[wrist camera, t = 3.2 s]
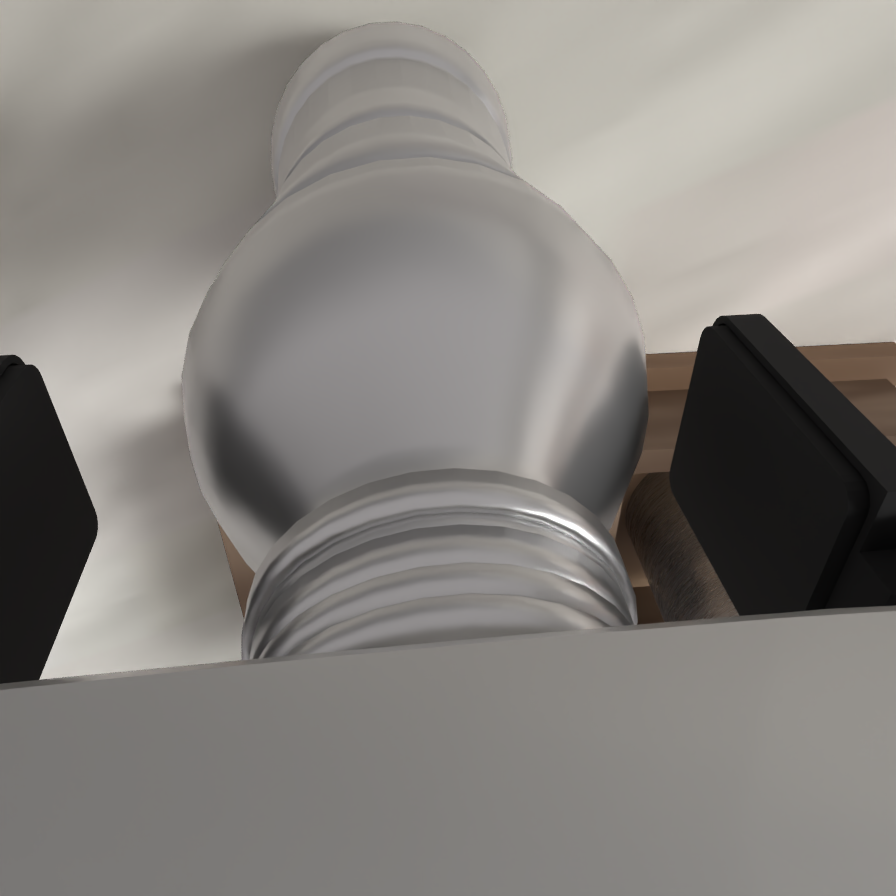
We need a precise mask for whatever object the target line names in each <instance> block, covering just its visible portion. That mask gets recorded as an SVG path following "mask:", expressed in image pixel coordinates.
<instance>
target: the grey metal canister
mask: <svg viewBox="0 0 896 896" xmlns="http://www.w3.org/2000/svg"><path fill="white" fill-rule="evenodd" d="M669 473H670V472H655V473H648V474H647V475H646V476H645V477H644V478H643V479H642V480H641V482H640V483H639V484H638V485H637V487H636V488H635V490H634V491H633V493H632V495H631V497H630V499H629V501H628V504H627V508H626V513H625V524H626V528H627V532H628V534H629V536H630V539H631V541H632V544H633V546H634V549H635V551H636V554H637V556H638V558H639V561H640V563H641V566H642V568H643V571H644V573H645V576H646V578H647V581H648V583H649V585H650V588H651V590H652V593H653V595H654V598H655V600H656V603H657V605H658V607H659V610H660V612H661V615H662V617H663V620H664V622H675V621H686V620H698V619H710V618H721V617H733V616H739V614H738V612H737V610H736V609H735V607H734V605H733V603H732V601H731V599H730V598H729V596H728V594H727V592H726V590H725V589H724V587H723V585H722V583H721V581H720V579H719V578H718V576H717V574H716V572H715V570H714V568H713V567H712V565H711V563H710V561H709V559H708V558H707V556H706V554H705V552H704V550H703V548H702V547H701V545H700V543H699V541H698V539H697V537H696V536H695V534H694V532H693V530H692V528H691V527H690V525H689V523H688V521H687V519H686V517H685V516H684V514H683V512H682V510H681V508H680V506H679V505H678V503H677V501H676V499H675V497H674V496H673V493H672V491H671V487H670V481H669Z"/></svg>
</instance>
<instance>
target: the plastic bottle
mask: <svg viewBox="0 0 896 896" xmlns="http://www.w3.org/2000/svg"><path fill="white" fill-rule="evenodd" d="M271 167H272V177H273V183H274V189H275V195H276V201H275V202H274V203H273V204H272V206H271V207H270V208H269V209H268V210H267V211H266V212H265V214H264V215H263V216H262V217H261V218H260V219H259V220H258V221H257V223H256V224H255V225H254V226H253V227H252V228H251V229H250V230H249V231H248V232H247V234H246V235H245V236H244V238H243V239H242V240H241V242H240V243H239V244H238V246H237V247H236V248H235V250H234V251H233V252H232V254H231V255H230V256H229V258H228V259H227V260H226V262H225V263H224V264H223V266H222V268H221V270H220V272H219V273H218V275H217V277H216V279H215V281H214V282H213V284H212V285H211V287H210V288H209V290H208V292H207V294H206V296H205V299H204V301H203V303H202V305H201V308H200V310H199V312H198V315H197V317H196V319H195V321H194V324H193V326H192V328H191V330H190V333H189V338H188V343H187V349H186V354H185V360H184V365H183V371H182V391H183V408H184V420H185V426H186V432H187V439H188V445H189V452H190V457H191V461H192V464H193V467H194V471H195V474H196V477H197V480H198V484H199V487H200V490H201V493H202V495H203V497H204V498H205V500H206V502H207V503H208V505H209V507H210V509H211V510H212V512H213V514H214V516H215V517H216V519H217V521H218V523H219V524H220V526H221V527H222V529H223V530H224V532H225V533H226V535H227V536H228V537H229V539H230V540H231V542H232V543H233V545H234V546H235V548H236V549H237V551H238V552H239V554H240V555H241V557H242V558H243V559H244V561H245V562H246V564H247V565H248V566H249V567H250V568H251V569H252V570H253V571H254V572H255V576H254V580H253V583H252V586H251V590H250V593H249V596H248V599H247V605H246V611H245V618H244V624H243V630H242V660H250V659H261V658H271V657H282V656H293V655H303V654H314V653H325V652H336V651H347V650H358V649H369V648H379V647H390V646H401V645H412V644H423V643H434V642H446V641H457V640H468V639H479V638H490V637H501V636H512V635H523V634H534V633H546V632H558V631H569V630H581V629H593V628H604V627H616V626H628V625H637V623H638V618H637V605H636V595H635V593H634V590H633V587H632V584H631V582H630V579H629V576H628V573H627V571H626V568H625V565H624V563H623V560H622V558H621V555H620V553H619V550H618V548H617V545H616V543H615V540H614V538H613V537H612V535H611V534H610V533H609V530H610V529H611V526H612V524H613V522H614V519H615V517H616V514H617V512H618V510H619V507H620V505H621V502H622V500H623V498H624V495H625V493H626V490H627V488H628V486H629V483H630V481H631V478H632V476H633V473H634V471H635V469H636V466H637V464H638V461H639V459H640V456H641V454H642V450H643V445H644V440H645V434H646V429H647V423H648V418H649V410H648V389H647V370H646V354H645V338H644V334H643V330H642V327H641V324H640V320H639V317H638V313H637V310H636V306H635V303H634V299H633V297H632V295H631V293H630V291H629V290H628V288H627V286H626V284H625V283H624V281H623V279H622V278H621V276H620V274H619V272H618V271H617V269H616V267H615V265H614V264H613V262H612V260H611V259H610V258H609V257H608V256H607V255H606V254H605V253H604V252H603V250H602V249H601V248H600V247H599V246H598V245H597V244H596V243H595V242H594V241H593V240H592V238H591V237H590V236H589V235H588V234H587V233H586V232H585V231H584V230H583V229H582V228H581V227H580V226H579V225H578V224H577V223H576V221H575V220H574V219H573V218H572V217H571V216H570V215H569V214H568V213H567V212H566V211H565V210H564V209H563V208H562V207H561V206H560V205H559V204H557V203H556V202H554V201H553V200H551V199H550V198H548V197H547V196H545V195H544V194H542V193H541V192H540V191H538V190H537V189H536V188H534V187H533V186H531V185H530V184H529V183H527V182H526V181H524V180H523V179H522V178H520V177H519V176H517V175H516V174H515V172H514V171H513V170H512V153H511V146H510V139H509V132H508V126H507V119H506V115H505V113H504V110H503V107H502V104H501V101H500V98H499V95H498V93H497V91H496V90H495V88H494V86H493V84H492V83H491V81H490V79H489V78H488V76H487V74H486V73H485V71H484V70H483V69H482V68H481V66H480V65H479V64H478V63H477V62H476V61H475V60H474V59H473V58H472V57H471V55H470V54H469V53H468V52H467V51H466V50H464V49H463V48H461V47H460V46H459V45H457V44H456V43H454V42H453V41H452V40H450V39H449V38H447V37H446V36H444V35H442V34H439V33H437V32H434V31H432V30H430V29H427V28H425V27H423V26H418V25H412V24H407V23H401V22H383V23H369V24H366V25H363V26H359V27H356V28H353V29H350V30H346V31H344V32H342V33H341V34H339V35H337V36H335V37H334V38H332V39H330V40H328V41H327V42H325V43H323V44H322V45H321V46H320V47H319V48H317V49H316V50H315V51H314V52H313V53H312V54H311V55H310V56H309V57H308V58H307V59H306V60H304V61H303V62H302V64H301V65H300V67H299V68H298V70H297V71H296V72H295V74H294V75H293V77H292V78H291V80H290V81H289V82H288V84H287V86H286V88H285V91H284V93H283V95H282V98H281V100H280V102H279V105H278V107H277V111H276V115H275V120H274V124H273V129H272V134H271Z"/></svg>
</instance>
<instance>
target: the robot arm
mask: <svg viewBox="0 0 896 896" xmlns="http://www.w3.org/2000/svg"><path fill="white" fill-rule="evenodd" d="M669 481H670V487H671V491H672V493H673V496H674V497H675V499H676V501H677V503H678V505H679V506H680V508H681V510H682V512H683V514H684V516H685V517H686V519H687V521H688V523H689V525H690V527H691V528H692V530H693V532H694V534H695V536H696V537H697V539H698V541H699V543H700V545H701V547H702V548H703V550H704V552H705V554H706V556H707V558H708V559H709V561H710V563H711V565H712V567H713V568H714V570H715V572H716V574H717V576H718V578H719V579H720V581H721V583H722V585H723V587H724V589H725V590H726V592H727V594H728V596H729V598H730V599H731V601H732V603H733V605H734V607H735V609H736V610H737V612H738V614H739V616H733V617H721V618H710V619H698V620H686V621H675V622H663V623H651V624H640V625H628V626H616V627H604V628H593V629H581V630H569V631H558V632H546V633H534V634H523V635H512V636H501V637H490V638H479V639H468V640H457V641H446V642H434V643H423V644H412V645H401V646H390V647H379V648H369V649H358V650H347V651H336V652H325V653H314V654H303V655H293V656H282V657H271V658H261V659H250V660H240V661H229V662H219V663H209V664H198V665H188V666H178V667H167V668H157V669H146V670H136V671H126V672H115V673H105V674H95V675H84V676H74V677H63V678H53V679H43V680H39V679H40V676H41V674H42V671H43V669H44V666H45V664H46V661H47V659H48V656H49V654H50V651H51V649H52V646H53V644H54V641H55V639H56V636H57V634H58V631H59V629H60V626H61V624H62V622H63V619H64V617H65V614H66V612H67V609H68V607H69V604H70V602H71V599H72V597H73V594H74V592H75V589H76V587H77V584H78V582H79V579H80V577H81V574H82V572H83V569H84V567H85V564H86V562H87V559H88V557H89V554H90V552H91V549H92V547H93V544H94V542H95V539H96V536H97V530H98V521H97V515H96V512H95V509H94V506H93V504H92V501H91V499H90V496H89V494H88V491H87V489H86V486H85V484H84V481H83V479H82V476H81V474H80V471H79V469H78V466H77V464H76V461H75V459H74V456H73V454H72V451H71V449H70V446H69V444H68V441H67V439H66V436H65V434H64V431H63V429H62V426H61V424H60V421H59V419H58V416H57V414H56V411H55V409H54V406H53V404H52V401H51V398H50V396H49V393H48V391H47V388H46V386H45V383H44V381H43V378H42V376H41V374H40V372H39V370H38V369H37V368H36V367H35V366H33V365H25V363H24V362H23V361H22V360H21V358H20V357H18V356H16V355H3V356H0V896H896V446H895V445H894V444H893V443H892V442H891V441H890V440H889V439H888V438H887V437H886V436H885V435H884V434H882V433H881V432H880V431H879V430H878V429H877V428H876V427H875V426H874V425H873V424H872V423H871V422H870V421H869V420H868V419H867V418H866V417H865V416H864V415H863V414H862V413H861V412H860V411H859V410H858V409H857V408H856V407H855V406H854V405H853V404H852V403H851V402H850V401H849V400H848V399H847V398H846V397H845V396H844V395H843V394H842V393H841V392H840V391H839V390H838V389H837V388H836V387H835V386H834V385H833V384H832V383H831V382H830V381H829V380H828V379H827V378H826V377H825V376H824V375H823V374H822V373H821V372H820V371H819V370H818V369H817V368H816V367H815V366H814V365H813V364H812V363H811V362H810V361H809V360H808V359H807V358H806V357H805V356H804V355H803V354H802V353H801V352H800V351H799V350H798V349H797V348H796V347H795V346H794V345H793V344H792V343H791V342H790V341H789V340H788V339H787V338H786V337H785V336H784V335H783V334H782V333H781V332H780V331H779V330H778V329H777V328H776V327H774V326H773V325H772V324H771V323H770V322H769V321H768V320H767V319H766V318H765V317H764V316H763V315H761V314H749V315H731V316H720V317H719V318H717V319H716V321H715V322H714V324H713V326H709V327H706V328H705V329H704V330H703V332H702V334H701V337H700V341H699V346H698V350H697V354H696V359H695V363H694V367H693V372H692V376H691V380H690V385H689V389H688V393H687V398H686V402H685V406H684V411H683V415H682V419H681V424H680V428H679V432H678V437H677V441H676V445H675V450H674V454H673V458H672V463H671V467H670V473H669Z"/></svg>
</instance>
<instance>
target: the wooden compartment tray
mask: <svg viewBox="0 0 896 896" xmlns="http://www.w3.org/2000/svg"><path fill="white" fill-rule="evenodd" d="M796 348H797V349H798V350H799V351H800V352H801V353H802V354H803V355H804V356H805V357H806V358H807V359H808V360H809V361H810V362H811V363H812V364H813V365H814V366H815V367H816V368H817V369H818V370H819V371H820V372H821V373H822V374H823V375H824V376H825V377H826V378H827V379H828V380H829V381H830V382H831V383H832V384H833V385H834V386H835V387H836V388H837V389H838V390H839V391H840V392H841V393H842V394H843V395H844V396H845V397H846V398H847V399H848V400H849V401H850V402H851V403H852V404H853V405H854V406H855V407H856V408H857V409H858V410H859V411H860V412H861V413H862V414H863V415H864V416H865V417H866V418H867V419H868V420H869V421H870V422H871V423H872V424H873V425H874V426H875V427H876V428H877V429H878V430H879V431H880V432H881V433H882V434H884V435H885V436H886V437H887V438H888V439H889V440H890V441H891V442H892V443H893V444H894V445H895V446H896V387H895V386H896V344H895V343H894V342H887V343H867V344H847V345H827V346H806V347H796ZM696 354H697V352H685V353H665V354H646V370H647V389H648V410H649V418H648V423H647V429H646V434H645V440H644V445H643V450H642V454H641V456H640V459H639V461H638V464H637V466H636V469H635V471H634V473H633V476H632V478H631V481H630V483H629V486H628V488H627V490H626V493H625V495H624V498H623V500H622V502H621V505H620V507H619V510H618V512H617V514H616V517H615V519H614V522H613V524H612V526H611V529H610V530H609V533H610V534H611V535H612V537H613V538H614V540H615V543H616V545H617V548H618V550H619V553H620V555H621V558H622V560H623V563H624V565H625V568H626V571H627V573H628V576H629V579H630V582H631V584H632V587H633V590H634V593H635V595H636V605H637V618H638V623H637V625H640V624H651V623H663V622H664V620H663V617H662V615H661V612H660V610H659V607H658V605H657V603H656V600H655V598H654V595H653V593H652V590H651V588H650V585H649V583H648V581H647V578H646V576H645V573H644V571H643V568H642V566H641V563H640V561H639V558H638V556H637V554H636V551H635V549H634V546H633V544H632V541H631V539H630V536H629V534H628V532H627V528H626V524H625V513H626V508H627V504H628V501H629V499H630V497H631V495H632V493H633V491H634V490H635V488H636V487H637V485H638V484H639V483H640V482H641V480H642V479H643V478H644V477H645V476H646V475H647V474H648V473H655V472H670V467H671V463H672V458H673V454H674V450H675V445H676V441H677V437H678V432H679V428H680V424H681V419H682V415H683V411H684V406H685V402H686V398H687V393H688V389H689V385H690V380H691V376H692V372H693V367H694V363H695V359H696ZM218 525H219V529H220V532H221V536H222V540H223V543H224V547H225V551H226V554H227V558H228V562H229V565H230V569H231V573H232V576H233V580H234V584H235V587H236V591H237V595H238V599H239V602H240V606H241V610H242V613H243V617H244V618H245V611H246V605H247V599H248V596H249V593H250V590H251V586H252V583H253V580H254V576H255V572H254V571H253V570H252V569H251V568H250V567H249V566H248V565H247V564H246V562H245V561H244V559H243V558H242V557H241V555H240V554H239V552H238V551H237V549H236V548H235V546H234V545H233V543H232V542H231V540H230V539H229V537H228V536H227V535H226V533H225V532H224V530H223V529H222V527H221V526H220V524H219V523H218Z"/></svg>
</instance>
